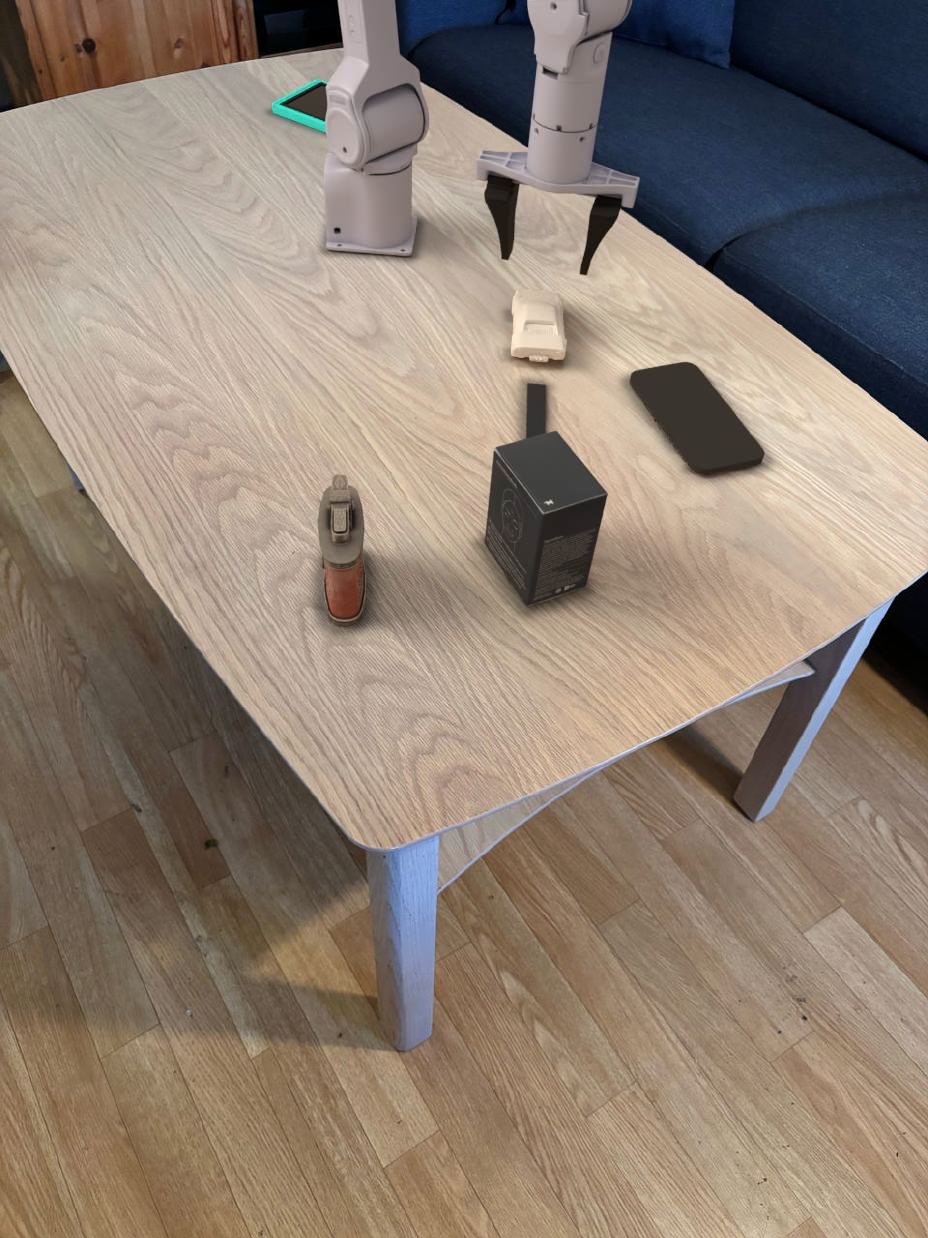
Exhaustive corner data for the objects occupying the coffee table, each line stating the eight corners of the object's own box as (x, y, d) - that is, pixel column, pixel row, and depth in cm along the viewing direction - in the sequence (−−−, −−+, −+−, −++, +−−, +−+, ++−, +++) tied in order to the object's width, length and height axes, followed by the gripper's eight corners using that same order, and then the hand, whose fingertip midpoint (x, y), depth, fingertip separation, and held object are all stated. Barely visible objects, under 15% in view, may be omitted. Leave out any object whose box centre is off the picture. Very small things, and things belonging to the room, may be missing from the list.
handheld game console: (368, 150, 121) (367, 139, 120) (269, 112, 126) (268, 101, 125) (413, 121, 127) (414, 110, 126) (317, 86, 132) (317, 76, 130)
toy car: (561, 303, 103) (565, 275, 100) (565, 373, 95) (569, 345, 93) (510, 299, 103) (513, 271, 100) (509, 370, 95) (513, 341, 92)
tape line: (524, 491, 84) (525, 490, 84) (527, 384, 94) (527, 382, 94) (545, 493, 84) (545, 492, 84) (545, 385, 94) (545, 384, 94)
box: (587, 587, 78) (610, 492, 70) (526, 609, 76) (542, 514, 68) (541, 523, 82) (557, 426, 74) (481, 542, 80) (491, 445, 72)
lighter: (324, 550, 79) (315, 459, 71) (365, 549, 79) (362, 458, 71) (323, 628, 74) (314, 539, 66) (367, 627, 74) (364, 537, 66)
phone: (693, 359, 96) (770, 456, 88) (691, 366, 97) (767, 463, 88) (626, 371, 94) (698, 472, 86) (624, 378, 95) (696, 479, 86)
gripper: (654, 111, 84) (625, 254, 95) (493, 83, 86) (482, 227, 96) (643, 147, 80) (614, 293, 90) (474, 118, 81) (465, 264, 92)
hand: (545, 261), depth 93 cm, fingers open, 7 cm apart
